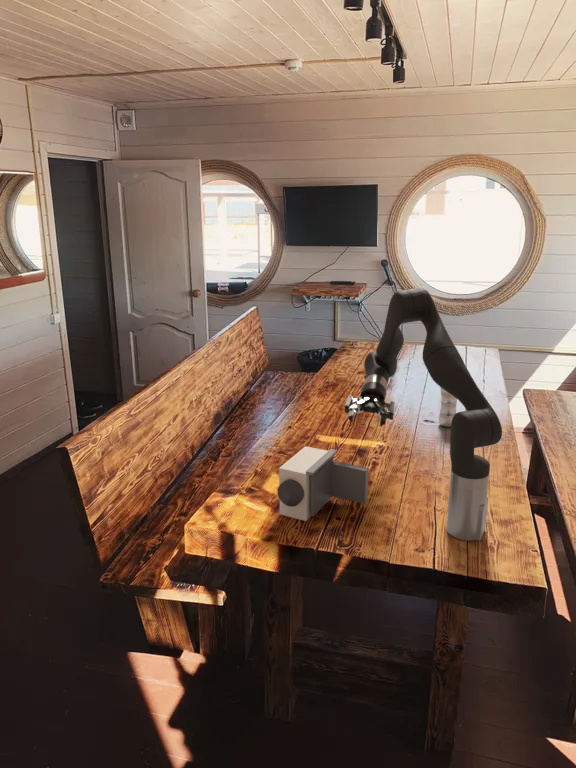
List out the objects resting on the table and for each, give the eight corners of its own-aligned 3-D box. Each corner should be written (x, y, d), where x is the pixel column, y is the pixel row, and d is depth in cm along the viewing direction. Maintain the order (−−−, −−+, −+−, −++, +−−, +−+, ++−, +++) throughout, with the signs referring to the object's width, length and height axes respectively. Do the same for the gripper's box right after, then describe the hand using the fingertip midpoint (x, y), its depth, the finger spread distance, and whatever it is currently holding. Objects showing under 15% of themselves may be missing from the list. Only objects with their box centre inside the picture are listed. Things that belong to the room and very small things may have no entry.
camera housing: (336, 497, 176) (337, 450, 172) (309, 526, 161) (309, 475, 157) (305, 489, 181) (305, 443, 176) (276, 517, 166) (275, 468, 161)
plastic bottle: (455, 429, 224) (460, 377, 217) (437, 427, 226) (440, 376, 219) (457, 423, 229) (461, 372, 223) (438, 421, 231) (442, 371, 225)
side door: (367, 503, 170) (368, 464, 166) (349, 525, 159) (350, 484, 156) (330, 495, 175) (330, 457, 172) (310, 515, 164) (310, 475, 161)
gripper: (351, 377, 185) (342, 407, 172) (398, 384, 182) (392, 414, 169) (350, 398, 189) (340, 428, 176) (396, 404, 186) (390, 436, 173)
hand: (366, 421), depth 173 cm, fingers open, 8 cm apart
